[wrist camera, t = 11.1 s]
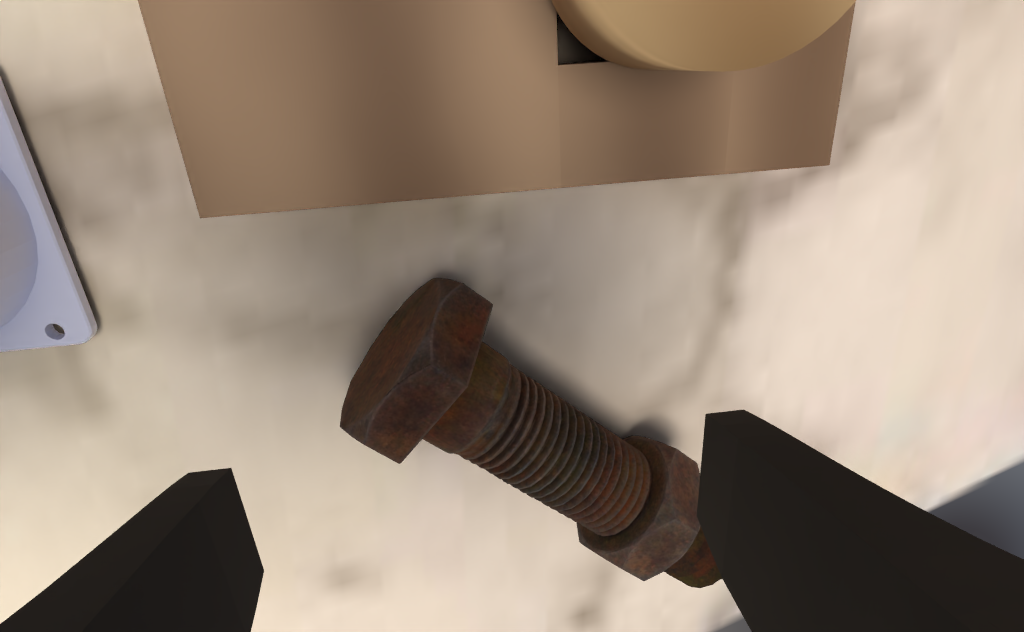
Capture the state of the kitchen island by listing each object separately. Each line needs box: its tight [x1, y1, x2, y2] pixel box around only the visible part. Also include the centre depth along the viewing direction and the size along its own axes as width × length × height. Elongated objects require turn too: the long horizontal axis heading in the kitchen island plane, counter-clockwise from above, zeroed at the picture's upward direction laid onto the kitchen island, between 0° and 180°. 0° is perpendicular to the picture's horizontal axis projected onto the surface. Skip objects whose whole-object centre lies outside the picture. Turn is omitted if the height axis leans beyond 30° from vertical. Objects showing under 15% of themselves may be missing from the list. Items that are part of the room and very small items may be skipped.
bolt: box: [340, 278, 723, 588], centre depth 19 cm, size 6×5×15 cm
